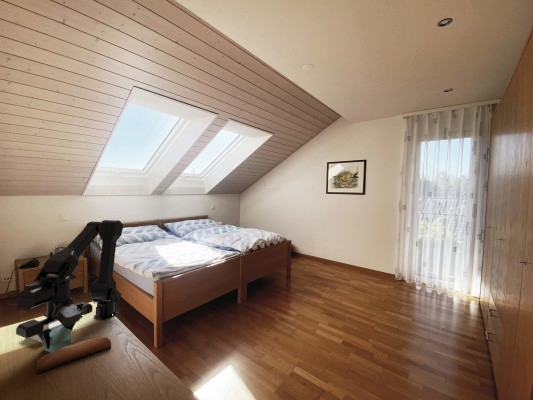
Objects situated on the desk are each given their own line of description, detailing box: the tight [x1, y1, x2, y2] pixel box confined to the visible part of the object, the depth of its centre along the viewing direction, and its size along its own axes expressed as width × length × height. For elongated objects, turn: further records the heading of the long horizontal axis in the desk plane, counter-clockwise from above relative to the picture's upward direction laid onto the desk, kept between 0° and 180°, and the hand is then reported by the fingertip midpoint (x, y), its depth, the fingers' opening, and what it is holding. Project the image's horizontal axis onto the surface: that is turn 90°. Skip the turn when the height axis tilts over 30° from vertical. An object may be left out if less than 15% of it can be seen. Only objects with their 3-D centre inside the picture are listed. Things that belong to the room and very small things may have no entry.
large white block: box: [29, 321, 73, 344], centre depth 87 cm, size 9×9×4 cm
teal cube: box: [42, 327, 72, 354], centre depth 79 cm, size 5×5×5 cm
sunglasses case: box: [35, 336, 112, 375], centre depth 76 cm, size 18×7×7 cm, turn 135°
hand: (57, 343), depth 79 cm, fingers closed on teal cube, 5 cm apart
